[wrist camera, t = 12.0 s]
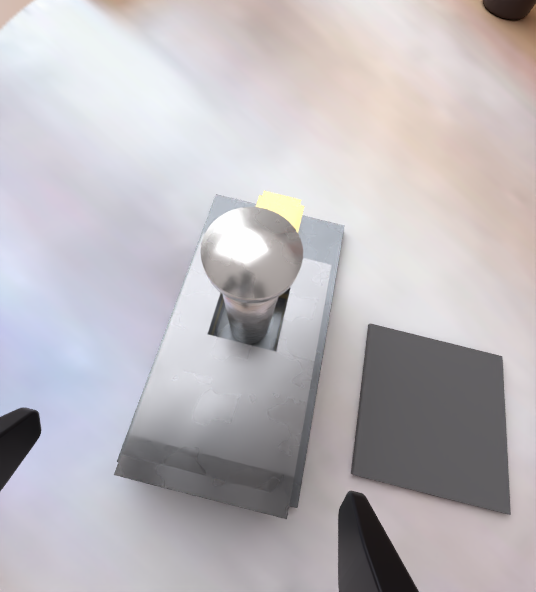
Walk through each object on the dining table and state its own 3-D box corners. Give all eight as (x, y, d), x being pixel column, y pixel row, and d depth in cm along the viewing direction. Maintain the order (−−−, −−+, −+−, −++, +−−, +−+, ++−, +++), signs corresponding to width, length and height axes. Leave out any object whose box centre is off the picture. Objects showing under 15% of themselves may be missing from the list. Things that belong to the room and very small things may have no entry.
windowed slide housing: (295, 504, 20) (308, 530, 16) (121, 459, 20) (89, 474, 16) (341, 230, 27) (358, 199, 23) (216, 199, 28) (212, 163, 23)
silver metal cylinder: (284, 316, 23) (320, 236, 12) (258, 360, 22) (270, 318, 11) (241, 291, 24) (236, 191, 12) (213, 332, 22) (179, 264, 11)
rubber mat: (505, 512, 20) (510, 514, 20) (351, 473, 20) (353, 474, 20) (498, 357, 24) (502, 356, 24) (368, 324, 24) (370, 323, 24)
